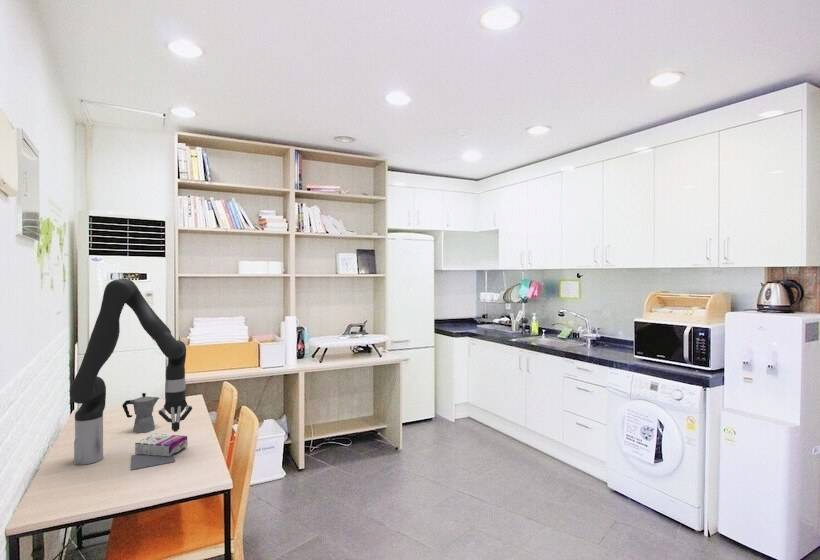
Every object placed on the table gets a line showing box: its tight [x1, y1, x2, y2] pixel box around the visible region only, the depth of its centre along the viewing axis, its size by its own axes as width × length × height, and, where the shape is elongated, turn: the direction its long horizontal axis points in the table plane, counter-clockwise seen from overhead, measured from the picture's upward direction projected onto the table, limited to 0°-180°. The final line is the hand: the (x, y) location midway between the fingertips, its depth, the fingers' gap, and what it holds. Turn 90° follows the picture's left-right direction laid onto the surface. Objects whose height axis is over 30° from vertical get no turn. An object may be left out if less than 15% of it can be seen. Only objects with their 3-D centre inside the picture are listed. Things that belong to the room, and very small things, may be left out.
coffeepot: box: [122, 392, 160, 434], centre depth 216 cm, size 15×9×18 cm, turn 129°
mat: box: [130, 454, 176, 471], centre depth 182 cm, size 15×16×1 cm
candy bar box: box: [134, 433, 188, 457], centre depth 190 cm, size 11×5×16 cm
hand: (175, 431), depth 186 cm, fingers closed
